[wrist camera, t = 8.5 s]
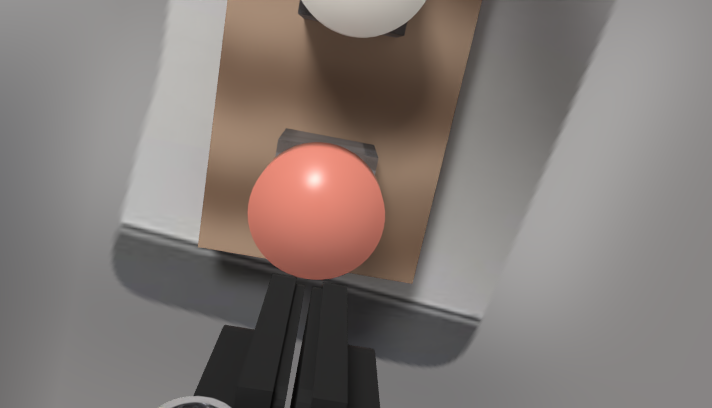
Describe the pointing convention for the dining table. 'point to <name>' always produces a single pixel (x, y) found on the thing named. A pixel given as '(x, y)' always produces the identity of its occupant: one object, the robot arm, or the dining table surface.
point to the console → (336, 113)
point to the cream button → (363, 15)
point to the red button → (316, 211)
